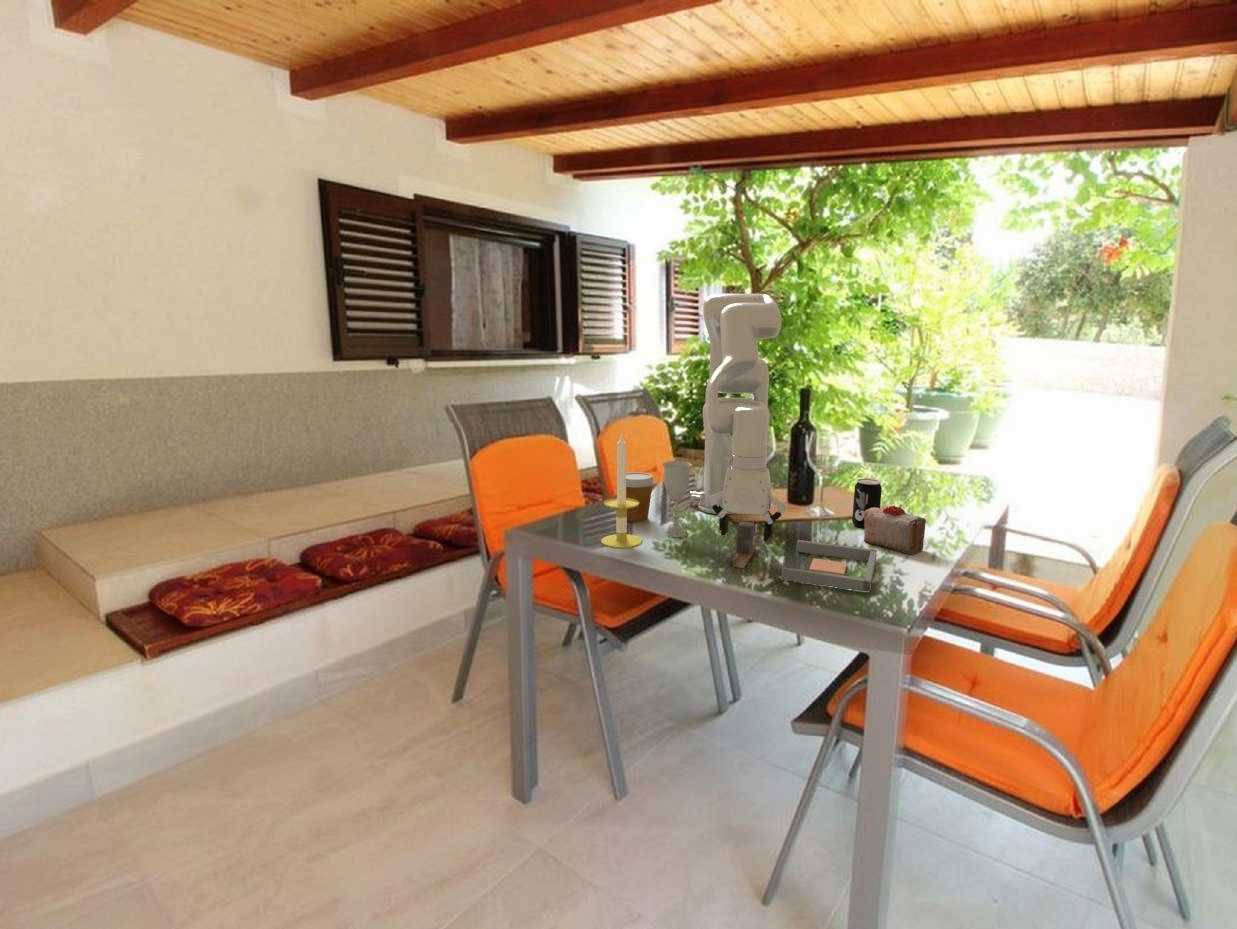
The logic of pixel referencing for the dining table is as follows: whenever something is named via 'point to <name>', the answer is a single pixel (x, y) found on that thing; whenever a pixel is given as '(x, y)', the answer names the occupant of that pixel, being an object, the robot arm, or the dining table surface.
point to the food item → (894, 529)
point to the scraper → (744, 544)
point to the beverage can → (865, 499)
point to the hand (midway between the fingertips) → (745, 536)
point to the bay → (833, 579)
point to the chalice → (676, 490)
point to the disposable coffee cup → (639, 495)
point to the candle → (621, 505)
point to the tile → (828, 566)
